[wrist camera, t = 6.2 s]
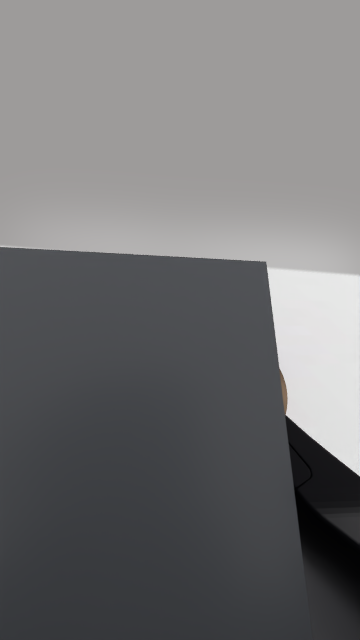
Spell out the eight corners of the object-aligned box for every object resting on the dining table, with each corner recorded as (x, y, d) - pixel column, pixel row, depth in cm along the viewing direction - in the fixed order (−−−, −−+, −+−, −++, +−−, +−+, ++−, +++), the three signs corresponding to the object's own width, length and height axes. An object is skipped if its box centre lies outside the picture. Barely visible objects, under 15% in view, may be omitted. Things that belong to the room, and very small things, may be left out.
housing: (189, 434, 14) (320, 713, 2) (100, 435, 13) (-280, 788, 2) (189, 347, 16) (265, 261, 4) (109, 345, 15) (-63, 243, 4)
